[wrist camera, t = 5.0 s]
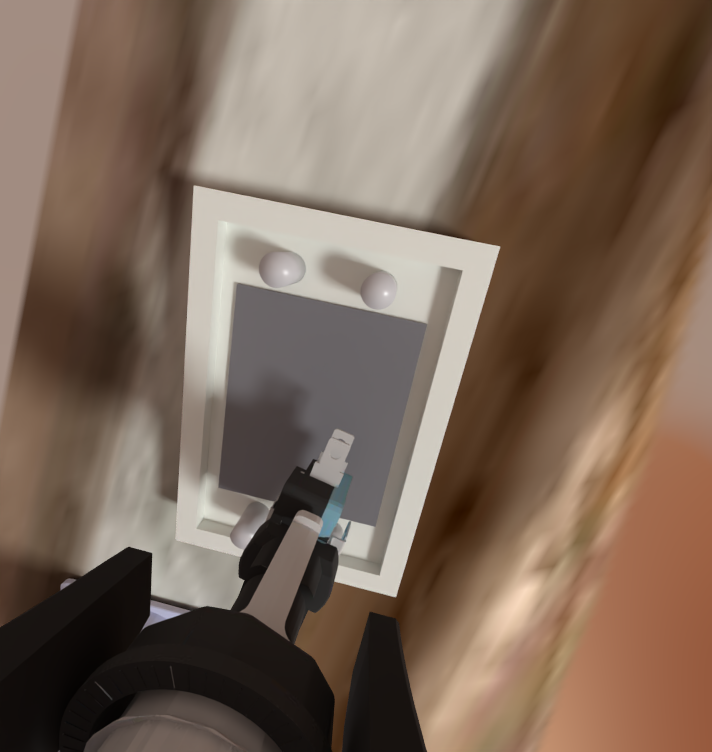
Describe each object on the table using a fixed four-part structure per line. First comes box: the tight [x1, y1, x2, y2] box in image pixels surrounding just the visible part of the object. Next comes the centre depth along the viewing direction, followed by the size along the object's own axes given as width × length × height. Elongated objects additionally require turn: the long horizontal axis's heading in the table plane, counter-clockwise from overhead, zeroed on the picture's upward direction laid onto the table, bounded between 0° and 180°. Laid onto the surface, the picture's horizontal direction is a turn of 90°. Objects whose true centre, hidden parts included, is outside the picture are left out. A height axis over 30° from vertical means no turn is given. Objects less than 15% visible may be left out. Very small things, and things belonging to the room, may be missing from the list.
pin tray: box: [176, 185, 500, 597], centre depth 17 cm, size 11×16×3 cm
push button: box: [59, 428, 354, 752], centre depth 11 cm, size 7×5×10 cm
